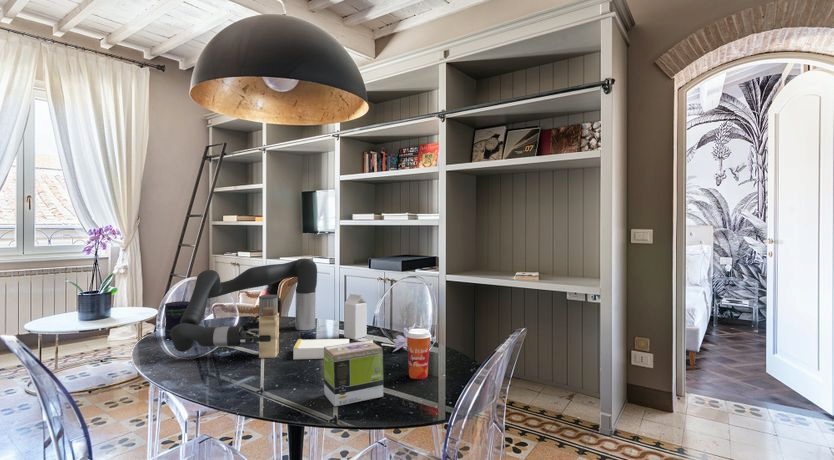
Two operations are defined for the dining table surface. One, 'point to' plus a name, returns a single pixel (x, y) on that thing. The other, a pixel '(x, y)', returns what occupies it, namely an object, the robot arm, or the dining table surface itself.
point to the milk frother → (267, 302)
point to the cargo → (269, 311)
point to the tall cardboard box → (270, 327)
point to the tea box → (353, 372)
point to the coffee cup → (418, 352)
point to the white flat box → (314, 348)
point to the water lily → (402, 338)
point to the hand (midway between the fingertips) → (273, 335)
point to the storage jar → (173, 315)
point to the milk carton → (355, 317)
